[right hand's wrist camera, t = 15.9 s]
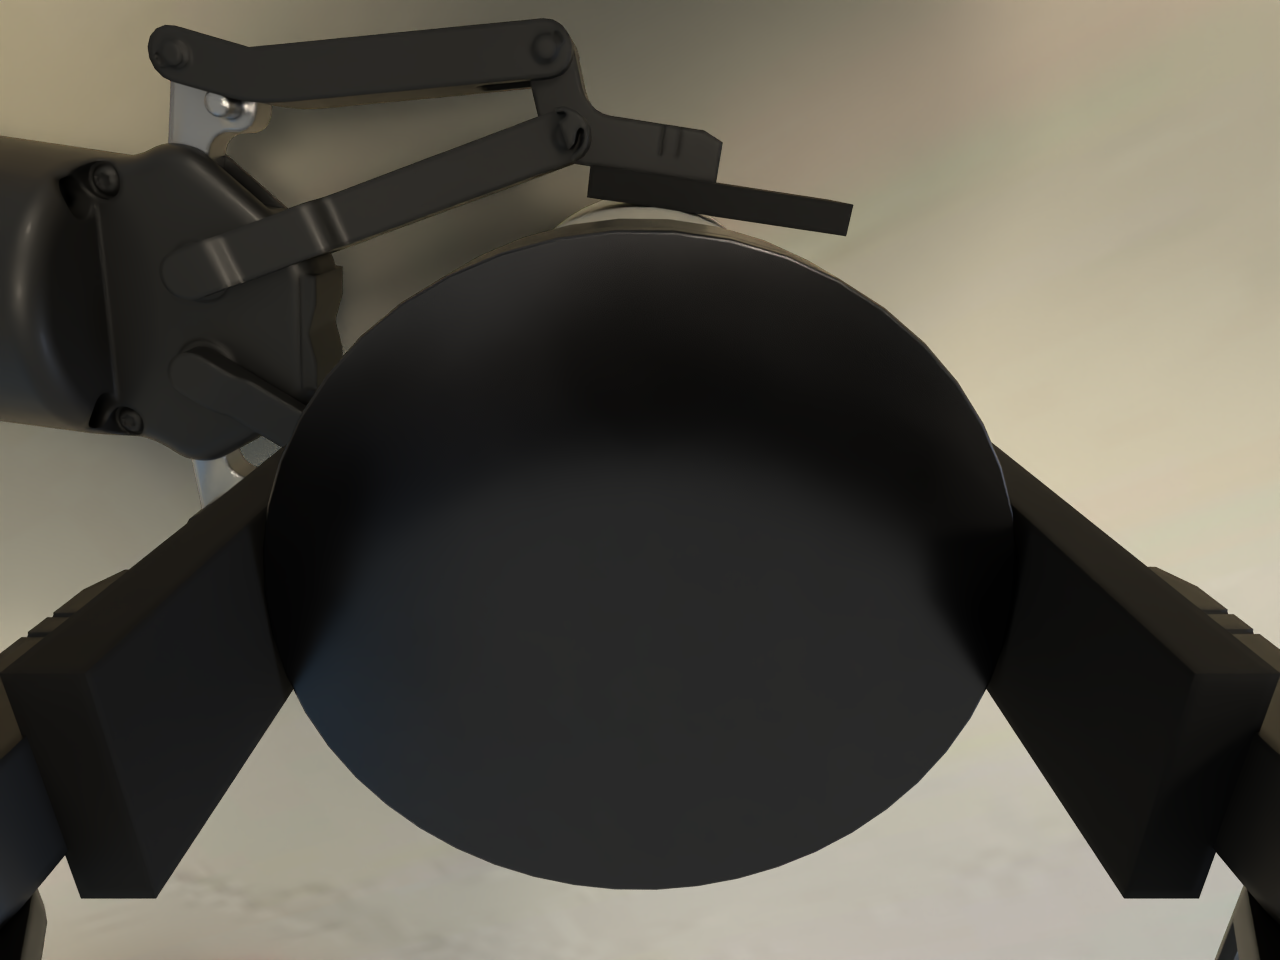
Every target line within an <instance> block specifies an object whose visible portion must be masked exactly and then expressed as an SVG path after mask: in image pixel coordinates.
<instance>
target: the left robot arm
mask: <svg viewBox="0 0 1280 960" xmlns="http://www.w3.org/2000/svg"><path fill="white" fill-rule="evenodd" d="M148 52H149V58H150V60H151V62H152V64H153V66H154V68H155V69H156V70H157V71H158V72H159V73H160V74H161V75H162V76H163V77H164V78H166V79H168V80H170V81H171V92H170V116H169V139H168V144H162V145H159V146H156V147H154V148H152V149H150V150H148V151H146V152H144V153H140V154H137V155H127V154H120V153H114V152H107V151H100V150H93V149H87V148H80V147H73V146H66V145H60V144H53V143H46V142H39V141H33V140H26V139H19V138H12V137H5V136H0V421H4V422H12V423H19V424H27V425H34V426H42V427H49V428H57V429H65V430H72V431H80V432H87V433H96V434H109V435H131V436H142V437H146V438H149V439H152V440H155V441H157V442H159V443H162V444H163V445H165V446H167V447H169V448H170V449H172V450H173V451H175V452H177V453H178V454H180V455H182V456H184V457H187V458H190V459H192V463H193V468H194V473H195V478H196V482H197V487H198V492H199V497H200V502H201V510H200V511H199V512H198V513H196V514H195V515H194V516H193V517H191V518H190V519H189V521H191V520H192V519H193V518H194V517H196V516H197V515H198V514H199V513H201V512H202V511H203V510H204V509H206V508H207V507H208V506H209V505H211V504H212V503H213V502H214V501H216V500H217V499H218V498H219V497H221V496H222V495H223V494H224V493H226V492H227V491H228V490H229V489H231V488H232V487H233V486H234V485H236V484H237V483H238V482H239V481H241V480H242V479H243V478H245V477H246V476H247V475H248V474H250V473H251V472H252V471H253V470H255V469H256V468H257V467H256V466H254V465H252V464H250V463H249V462H248V461H247V460H246V459H245V458H244V456H243V455H242V453H241V450H240V448H241V447H243V446H244V445H246V444H248V443H250V442H252V441H253V440H255V439H257V438H259V437H261V436H264V437H265V438H267V439H269V440H270V441H272V442H274V443H276V444H277V445H279V446H281V447H283V446H285V445H286V444H287V443H288V441H289V438H290V436H291V434H292V432H293V429H294V427H295V425H296V423H297V421H298V418H299V416H300V415H301V413H302V411H303V410H304V408H305V407H306V405H307V404H308V402H309V401H310V399H311V398H312V396H313V395H314V393H315V392H316V390H317V388H318V387H319V385H320V384H321V382H322V381H323V379H324V378H325V376H326V375H327V374H328V372H329V371H330V370H331V369H332V368H333V367H334V366H335V365H336V363H337V362H338V361H339V360H340V359H341V358H342V344H341V340H340V336H339V333H338V329H337V325H336V315H337V312H338V308H339V304H340V301H341V297H342V294H343V267H342V266H335V263H334V259H333V257H332V255H331V253H334V252H337V251H340V250H342V249H345V248H348V247H350V246H353V245H356V244H359V243H361V242H364V241H367V240H369V239H372V238H374V237H377V236H379V235H382V234H385V233H387V232H390V231H393V230H396V229H398V228H401V227H404V226H406V225H409V224H412V223H415V222H417V221H420V220H423V219H425V218H428V217H431V216H434V215H436V214H439V213H442V212H445V211H447V210H450V209H453V208H455V207H458V206H461V205H464V204H466V203H469V202H472V201H475V200H477V199H480V198H483V197H485V196H488V195H491V194H494V193H496V192H499V191H502V190H505V189H507V188H510V187H513V186H515V185H518V184H521V183H524V182H526V181H529V180H532V179H534V178H537V177H540V176H543V175H545V174H548V173H551V172H554V171H556V170H559V169H562V168H564V167H567V166H570V165H573V164H580V165H586V166H591V167H590V176H589V185H588V194H587V197H589V198H595V199H602V200H609V201H615V202H622V203H629V204H635V205H642V206H648V207H655V208H662V209H668V210H675V211H682V212H688V213H695V214H702V215H708V216H715V217H722V218H728V219H735V220H742V221H748V222H755V223H762V224H768V225H775V226H782V227H788V228H795V229H802V230H808V231H815V232H821V233H828V234H835V235H841V236H846V235H847V230H848V226H849V222H850V217H851V213H852V208H853V205H852V204H847V203H842V202H838V201H833V200H827V199H821V198H814V197H808V196H801V195H794V194H788V193H781V192H775V191H768V190H762V189H755V188H749V187H742V186H735V185H729V184H722V183H716V179H717V173H718V167H719V161H720V155H721V149H722V143H723V142H721V141H720V140H718V139H716V138H715V137H713V136H712V135H710V134H709V133H707V132H706V131H704V130H697V129H691V128H685V127H678V126H672V125H665V124H659V123H653V122H646V121H640V120H633V119H627V118H620V117H614V116H609V115H606V114H602V113H601V112H599V111H597V110H596V109H595V108H594V107H593V106H592V105H591V103H590V102H589V100H588V97H587V94H586V90H585V85H584V81H583V76H582V71H581V67H580V62H579V55H578V51H577V48H576V46H575V44H574V43H573V41H572V39H571V37H570V36H569V34H568V33H567V31H566V30H565V28H564V27H563V26H562V25H561V24H559V23H558V22H556V21H554V20H552V19H544V18H541V19H531V20H521V21H510V22H500V23H490V24H480V25H470V26H460V27H449V28H439V29H429V30H419V31H409V32H398V33H388V34H378V35H368V36H358V37H348V38H337V39H327V40H317V41H307V42H297V43H287V44H276V45H266V46H256V47H247V46H243V45H240V44H237V43H233V42H230V41H226V40H223V39H219V38H216V37H213V36H209V35H206V34H202V33H199V32H195V31H192V30H188V29H185V28H182V27H178V26H173V25H164V26H161V27H159V28H157V29H156V30H155V31H154V32H153V33H152V35H151V36H150V39H149V43H148ZM522 89H532V92H533V96H534V101H535V105H536V109H537V113H538V117H536V118H533V119H531V120H528V121H525V122H523V123H520V124H517V125H515V126H512V127H509V128H507V129H504V130H501V131H499V132H496V133H494V134H491V135H488V136H486V137H483V138H480V139H478V140H475V141H472V142H470V143H467V144H464V145H462V146H459V147H456V148H454V149H451V150H448V151H446V152H443V153H440V154H438V155H435V156H432V157H430V158H427V159H425V160H422V161H419V162H417V163H414V164H411V165H409V166H406V167H403V168H401V169H398V170H395V171H393V172H390V173H387V174H385V175H382V176H379V177H377V178H374V179H371V180H369V181H366V182H363V183H361V184H358V185H356V186H353V187H350V188H348V189H345V190H342V191H340V192H337V193H334V194H332V195H329V196H326V197H323V198H320V199H316V200H313V201H309V202H306V203H303V204H300V205H297V206H294V207H292V208H289V209H288V208H287V207H286V206H284V205H283V204H282V203H281V202H280V201H279V200H278V199H276V198H275V197H274V196H273V195H272V194H271V193H270V192H268V191H267V190H266V189H265V188H264V187H263V186H262V185H261V184H259V183H258V182H257V181H256V180H255V179H254V178H253V177H251V176H250V175H249V174H248V173H247V172H246V171H245V170H243V169H242V168H241V167H240V166H239V165H238V164H237V163H236V162H234V161H233V160H232V159H231V158H230V157H228V156H227V155H226V149H227V145H228V143H229V142H230V140H231V139H232V138H233V137H234V136H236V135H238V134H241V133H257V132H260V131H262V130H263V129H265V128H266V127H267V125H268V124H269V122H270V119H271V115H272V105H274V106H280V107H287V108H297V109H323V108H333V107H344V106H354V105H364V104H375V103H385V102H396V101H406V100H417V99H427V98H438V97H448V96H459V95H469V94H480V93H490V92H501V91H511V90H522ZM189 521H188V522H189Z"/></svg>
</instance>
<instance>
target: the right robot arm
mask: <svg viewBox="0 0 1280 960" xmlns="http://www.w3.org/2000/svg"><path fill="white" fill-rule="evenodd" d="M991 443H992V442H991ZM286 445H287V444H286ZM286 445H285V446H283V447H282V448H281V449H280V450H278V451H277V452H276V453H275V454H273V455H272V456H271V457H270V458H268V459H267V460H266V461H265V462H263V463H262V464H261V465H260V466H258V467H257V468H256V469H255V470H253V471H252V472H251V473H250V474H248V475H247V476H246V477H245V478H243V479H242V480H241V481H239V482H238V483H237V484H236V485H234V486H233V487H232V488H231V489H229V490H228V491H227V492H226V493H224V494H223V495H222V496H221V497H219V498H218V499H217V500H216V501H214V502H213V503H212V504H211V505H209V506H208V507H207V508H206V509H204V510H203V511H202V512H201V513H199V514H198V515H197V516H196V517H194V518H193V519H192V520H191V521H189V522H188V523H187V524H186V525H184V526H183V527H182V528H181V529H179V530H178V531H177V532H176V533H174V534H173V535H172V536H171V537H169V538H168V539H167V540H166V541H164V542H163V543H162V544H161V545H159V546H158V547H157V548H156V549H154V550H153V551H152V552H151V553H149V554H148V555H147V556H146V557H144V558H143V559H142V560H141V561H139V562H138V563H137V564H136V565H134V566H133V567H132V568H131V569H129V570H123V571H121V572H119V573H117V574H115V575H113V576H111V577H109V578H107V579H104V580H102V581H100V582H98V583H96V584H94V585H92V586H90V587H88V588H86V589H84V590H82V591H81V592H80V593H78V594H77V595H76V596H74V597H73V598H72V599H70V600H69V601H68V602H67V603H65V604H64V605H63V606H61V607H60V608H59V609H57V610H56V611H55V612H54V613H53V614H54V615H53V617H47V618H46V619H44V620H43V621H42V622H41V623H39V624H38V625H37V626H35V627H34V628H33V629H31V630H30V631H29V632H28V637H21V638H20V639H18V640H17V641H16V642H15V643H13V644H12V645H11V646H9V647H8V648H7V649H5V650H4V651H3V652H2V653H0V960H41V959H42V953H43V946H44V939H45V933H46V926H47V918H46V913H45V907H44V904H43V901H42V899H41V896H40V893H39V891H38V887H39V886H40V885H41V884H42V882H43V881H44V880H45V879H46V878H47V876H48V875H49V874H50V873H51V872H52V870H53V869H54V868H55V867H56V865H57V864H58V863H59V862H60V861H61V859H62V858H63V857H64V856H66V859H67V861H68V864H69V867H70V870H71V872H72V875H73V878H74V880H75V883H76V886H77V889H78V891H79V894H80V897H81V898H156V897H157V896H158V894H159V893H160V891H161V890H162V888H163V887H164V885H165V884H166V882H167V881H168V879H169V878H170V876H171V875H172V873H173V872H174V870H175V869H176V867H177V866H178V864H179V862H180V861H181V859H182V858H183V856H184V855H185V853H186V852H187V850H188V849H189V847H190V846H191V844H192V843H193V841H194V840H195V838H196V837H197V835H198V834H199V832H200V831H201V829H202V827H203V826H204V824H205V823H206V821H207V820H208V818H209V817H210V815H211V814H212V812H213V811H214V809H215V808H216V806H217V805H218V803H219V802H220V800H221V799H222V797H223V796H224V794H225V792H226V791H227V789H228V788H229V786H230V785H231V783H232V782H233V780H234V779H235V777H236V776H237V774H238V773H239V771H240V770H241V768H242V767H243V765H244V764H245V762H246V761H247V759H248V757H249V756H250V754H251V753H252V751H253V750H254V748H255V747H256V745H257V744H258V742H259V741H260V739H261V738H262V736H263V735H264V733H265V732H266V730H267V729H268V727H269V726H270V724H271V722H272V721H273V719H274V718H275V716H276V715H277V713H278V712H279V710H280V709H281V707H282V706H283V704H284V703H285V701H286V700H287V698H288V697H289V695H290V694H291V692H292V690H293V687H292V685H291V683H290V681H289V679H288V677H287V675H286V673H285V670H284V667H283V664H282V661H281V658H280V655H279V653H278V650H277V647H276V644H275V641H274V638H273V635H272V630H271V625H270V619H269V614H268V609H267V604H266V598H265V593H264V569H263V542H264V533H265V524H266V515H267V507H268V501H269V498H270V494H271V490H272V487H273V483H274V479H275V476H276V472H277V468H278V465H279V461H280V458H281V456H282V454H283V452H284V449H285V447H286ZM992 445H993V448H994V450H995V453H996V455H997V457H998V460H999V462H1000V465H1001V467H1002V471H1003V475H1004V479H1005V483H1006V487H1007V491H1008V495H1009V499H1010V503H1011V507H1012V511H1013V522H1014V534H1015V545H1016V572H1015V588H1014V601H1013V606H1012V611H1011V615H1010V620H1009V624H1008V629H1007V634H1006V638H1005V643H1004V645H1003V648H1002V651H1001V653H1000V656H999V659H998V661H997V664H996V667H995V670H994V672H993V675H992V678H991V680H990V683H989V685H988V686H987V688H986V689H987V691H988V692H989V694H990V695H991V697H992V698H993V700H994V701H995V703H996V704H997V706H998V707H999V709H1000V710H1001V712H1002V713H1003V715H1004V716H1005V718H1006V719H1007V721H1008V722H1009V724H1010V726H1011V727H1012V729H1013V730H1014V732H1015V733H1016V735H1017V736H1018V738H1019V739H1020V741H1021V742H1022V744H1023V745H1024V747H1025V748H1026V750H1027V751H1028V753H1029V754H1030V756H1031V757H1032V759H1033V761H1034V762H1035V764H1036V765H1037V767H1038V768H1039V770H1040V771H1041V773H1042V774H1043V776H1044V777H1045V779H1046V780H1047V782H1048V783H1049V785H1050V786H1051V788H1052V789H1053V791H1054V792H1055V794H1056V796H1057V797H1058V799H1059V800H1060V802H1061V803H1062V805H1063V806H1064V808H1065V809H1066V811H1067V812H1068V814H1069V815H1070V817H1071V818H1072V820H1073V821H1074V823H1075V824H1076V826H1077V827H1078V829H1079V831H1080V832H1081V834H1082V835H1083V837H1084V838H1085V840H1086V841H1087V843H1088V844H1089V846H1090V847H1091V849H1092V850H1093V852H1094V853H1095V855H1096V856H1097V858H1098V859H1099V861H1100V862H1101V864H1102V866H1103V867H1104V869H1105V870H1106V872H1107V873H1108V875H1109V876H1110V878H1111V879H1112V881H1113V882H1114V884H1115V885H1116V887H1117V888H1118V890H1119V891H1120V893H1121V894H1122V896H1123V897H1124V898H1199V897H1200V894H1201V891H1202V889H1203V886H1204V883H1205V880H1206V878H1207V875H1208V872H1209V869H1210V867H1211V864H1212V861H1213V858H1214V856H1215V853H1217V854H1218V855H1219V856H1220V857H1221V859H1222V860H1223V861H1224V862H1225V863H1226V865H1227V866H1228V867H1229V868H1230V869H1231V871H1232V872H1233V873H1234V874H1235V875H1236V877H1237V878H1238V879H1239V880H1240V881H1241V883H1242V884H1243V885H1244V886H1243V888H1242V891H1241V893H1240V896H1239V899H1238V901H1237V904H1236V906H1235V909H1234V911H1233V914H1232V917H1231V919H1230V922H1229V924H1228V927H1227V929H1226V932H1225V934H1224V937H1223V940H1222V942H1221V945H1220V947H1219V950H1218V952H1217V955H1216V958H1215V960H1280V649H1279V648H1277V647H1276V646H1275V645H1273V644H1272V643H1271V642H1269V641H1268V640H1267V639H1265V638H1264V637H1263V636H1261V635H1260V634H1254V633H1253V629H1252V628H1251V627H1250V626H1248V625H1247V624H1246V623H1244V622H1243V621H1242V620H1240V619H1239V618H1238V617H1237V616H1235V615H1234V614H1228V612H1227V611H1228V610H1227V609H1226V608H1225V607H1223V606H1222V605H1221V604H1219V603H1218V602H1217V601H1216V600H1214V599H1213V598H1212V597H1210V596H1209V595H1208V594H1206V593H1205V592H1204V591H1202V590H1201V589H1200V588H1199V587H1197V586H1195V585H1193V584H1191V583H1189V582H1187V581H1184V580H1182V579H1180V578H1178V577H1176V576H1174V575H1172V574H1170V573H1168V572H1165V571H1163V570H1161V569H1159V568H1157V567H1147V566H1146V565H1144V564H1143V563H1142V562H1141V561H1139V560H1138V559H1137V558H1136V557H1134V556H1133V555H1132V554H1131V553H1129V552H1128V551H1127V550H1126V549H1124V548H1123V547H1122V546H1121V545H1119V544H1118V543H1117V542H1116V541H1114V540H1113V539H1112V538H1111V537H1109V536H1108V535H1107V534H1106V533H1104V532H1103V531H1102V530H1101V529H1099V528H1098V527H1097V526H1096V525H1094V524H1093V523H1092V522H1091V521H1089V520H1088V519H1087V518H1086V517H1084V516H1083V515H1082V514H1081V513H1079V512H1078V511H1077V510H1076V509H1074V508H1073V507H1072V506H1071V505H1069V504H1068V503H1067V502H1066V501H1064V500H1063V499H1062V498H1061V497H1059V496H1058V495H1057V494H1056V493H1054V492H1053V491H1052V490H1051V489H1049V488H1048V487H1047V486H1046V485H1044V484H1043V483H1042V482H1040V481H1039V480H1038V479H1037V478H1035V477H1034V476H1033V475H1032V474H1030V473H1029V472H1028V471H1027V470H1025V469H1024V468H1023V467H1022V466H1020V465H1019V464H1018V463H1017V462H1015V461H1014V460H1013V459H1012V458H1010V457H1009V456H1008V455H1007V454H1005V453H1004V452H1003V451H1002V450H1000V449H999V448H998V447H997V446H995V445H994V444H993V443H992Z"/></svg>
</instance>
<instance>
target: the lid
mask: <svg viewBox="0 0 1280 960" xmlns="http://www.w3.org/2000/svg"><path fill="white" fill-rule="evenodd" d="M263 569H264V593H265V598H266V604H267V609H268V614H269V619H270V625H271V630H272V635H273V638H274V641H275V644H276V647H277V650H278V653H279V655H280V658H281V661H282V664H283V667H284V670H285V673H286V675H287V677H288V679H289V681H290V683H291V685H292V687H293V689H294V691H295V693H296V695H297V697H298V699H299V701H300V703H301V705H302V707H303V709H304V711H305V713H306V714H307V716H308V717H309V719H310V720H311V721H312V723H313V724H314V726H315V727H316V729H317V730H318V732H319V733H320V735H321V736H322V738H323V739H324V740H325V742H326V743H327V745H328V746H329V747H330V749H331V750H332V751H333V752H334V753H335V754H336V755H337V756H338V758H339V759H340V760H341V761H342V762H343V763H344V764H345V765H346V767H347V768H348V769H349V770H350V771H351V772H352V773H353V775H354V776H355V777H356V778H357V779H358V780H360V781H361V782H362V783H363V784H364V785H365V786H366V787H367V788H369V789H370V790H371V791H372V792H373V793H374V794H375V795H376V796H378V797H379V798H380V799H381V800H382V801H383V802H384V803H385V804H387V805H388V806H389V807H391V808H392V809H394V810H395V811H396V812H398V813H399V814H401V815H402V816H404V817H405V818H406V819H408V820H409V821H411V822H412V823H413V824H415V825H416V826H418V827H419V828H421V829H422V830H424V831H426V832H428V833H430V834H431V835H433V836H435V837H437V838H439V839H440V840H442V841H444V842H446V843H448V844H449V845H451V846H453V847H455V848H457V849H459V850H461V851H464V852H466V853H469V854H471V855H473V856H476V857H478V858H480V859H483V860H485V861H487V862H490V863H492V864H494V865H498V866H501V867H504V868H507V869H511V870H514V871H517V872H520V873H524V874H527V875H530V876H533V877H538V878H543V879H548V880H552V881H557V882H562V883H567V884H572V885H579V886H589V887H598V888H608V889H639V890H658V889H670V888H681V887H693V886H701V885H706V884H711V883H717V882H722V881H728V880H733V879H738V878H742V877H745V876H749V875H752V874H756V873H759V872H762V871H766V870H769V869H773V868H776V867H779V866H782V865H784V864H787V863H789V862H792V861H794V860H797V859H799V858H802V857H804V856H806V855H809V854H811V853H814V852H816V851H818V850H820V849H822V848H824V847H826V846H828V845H830V844H831V843H833V842H835V841H837V840H839V839H841V838H843V837H845V836H847V835H848V834H850V833H852V832H854V831H855V830H857V829H858V828H860V827H861V826H863V825H864V824H866V823H867V822H869V821H870V820H872V819H873V818H875V817H876V816H877V815H879V814H880V813H882V812H883V811H885V810H886V809H888V808H889V807H890V806H891V805H892V804H893V803H895V802H896V801H897V800H898V799H899V798H900V797H902V796H903V795H904V794H905V793H906V792H907V791H909V790H910V789H911V788H912V787H913V786H915V785H916V784H917V783H918V782H919V781H920V780H921V779H922V778H923V777H924V776H925V774H926V773H927V772H928V771H929V770H930V769H931V768H932V767H933V766H934V765H935V764H936V763H937V761H938V760H939V759H940V758H941V757H942V756H943V755H944V754H945V753H946V752H947V750H948V749H949V747H950V746H951V745H952V743H953V742H954V740H955V739H956V738H957V736H958V735H959V733H960V732H961V731H962V729H963V728H964V727H965V725H966V724H967V722H968V721H969V720H970V718H971V716H972V714H973V712H974V711H975V709H976V707H977V705H978V703H979V701H980V699H981V698H982V696H983V694H984V692H985V690H986V688H987V686H988V685H989V683H990V680H991V678H992V675H993V672H994V670H995V667H996V664H997V661H998V659H999V656H1000V653H1001V651H1002V648H1003V645H1004V643H1005V638H1006V634H1007V629H1008V624H1009V620H1010V615H1011V611H1012V606H1013V601H1014V588H1015V572H1016V545H1015V534H1014V522H1013V511H1012V507H1011V503H1010V499H1009V495H1008V491H1007V487H1006V483H1005V479H1004V475H1003V471H1002V467H1001V465H1000V462H999V460H998V457H997V455H996V453H995V450H994V448H993V445H992V443H991V441H990V438H989V436H988V433H987V431H986V429H985V426H984V424H983V422H982V421H981V419H980V417H979V416H978V414H977V412H976V411H975V409H974V408H973V406H972V404H971V403H970V401H969V399H968V398H967V396H966V395H965V393H964V391H963V390H962V388H961V386H960V385H959V383H958V382H957V380H956V379H955V378H954V377H953V376H952V375H951V373H950V372H949V371H948V370H947V369H946V367H945V366H944V365H943V364H942V363H941V362H940V360H939V359H938V358H937V357H936V356H935V354H934V353H933V352H932V351H931V350H930V349H929V347H928V346H927V345H926V344H925V343H924V342H923V341H922V340H921V339H920V338H918V337H917V336H916V335H915V334H914V333H913V332H912V331H910V330H909V329H908V328H907V327H906V326H905V325H904V324H902V323H901V322H900V321H899V320H898V319H897V318H896V317H894V316H893V315H892V314H891V313H890V312H889V311H888V310H886V309H885V308H884V307H882V306H881V305H879V304H878V303H876V302H875V301H873V300H871V299H870V298H868V297H867V296H865V295H864V294H862V293H861V292H859V291H857V290H856V289H854V288H853V287H851V286H850V285H848V284H847V283H845V282H843V281H842V280H840V279H839V278H837V277H835V276H834V275H832V274H830V273H829V272H827V271H825V270H823V269H822V268H820V267H818V266H817V265H815V264H813V263H812V262H810V261H808V260H806V259H804V258H802V257H800V256H797V255H795V254H793V253H791V252H789V251H786V250H784V249H782V248H780V247H778V246H775V245H773V244H771V243H769V242H767V241H765V240H761V239H758V238H755V237H751V236H748V235H744V234H741V233H738V232H734V231H731V230H728V229H724V228H721V227H718V226H711V225H704V224H698V223H691V222H684V221H678V220H671V219H611V220H603V221H595V222H587V223H580V224H572V225H567V226H563V227H560V228H556V229H552V230H549V231H545V232H541V233H538V234H534V235H530V236H526V237H523V238H520V239H518V240H516V241H513V242H511V243H509V244H506V245H504V246H502V247H499V248H497V249H495V250H492V251H490V252H488V253H485V254H483V255H481V256H478V257H477V258H475V259H473V260H472V261H470V262H468V263H466V264H465V265H463V266H461V267H460V268H458V269H456V270H455V271H453V272H451V273H449V274H448V275H446V276H444V277H443V278H441V279H439V280H438V281H436V282H435V283H433V284H431V285H430V286H428V287H426V288H425V289H423V290H421V291H420V292H418V293H416V294H415V295H413V296H411V297H410V298H408V299H407V300H405V301H403V302H402V303H400V304H399V305H398V306H397V307H396V308H394V309H393V310H392V311H391V312H390V313H388V314H387V315H386V316H385V317H384V318H382V319H381V320H380V321H379V322H377V323H376V324H375V325H374V326H373V327H371V328H370V329H369V330H368V331H367V332H365V333H364V334H363V335H362V336H361V337H360V338H359V339H358V340H357V341H356V342H355V343H354V344H353V346H352V347H351V348H350V349H349V350H348V351H347V352H346V353H345V355H344V356H343V357H342V358H341V359H340V360H339V361H338V362H337V363H336V365H335V366H334V367H333V368H332V369H331V370H330V371H329V372H328V374H327V375H326V376H325V378H324V379H323V381H322V382H321V384H320V385H319V387H318V388H317V390H316V392H315V393H314V395H313V396H312V398H311V399H310V401H309V402H308V404H307V405H306V407H305V408H304V410H303V411H302V413H301V415H300V416H299V418H298V421H297V423H296V425H295V427H294V429H293V432H292V434H291V436H290V438H289V441H288V443H287V445H286V447H285V449H284V452H283V454H282V456H281V458H280V461H279V465H278V468H277V472H276V476H275V479H274V483H273V487H272V490H271V494H270V498H269V501H268V507H267V515H266V524H265V533H264V542H263Z"/></svg>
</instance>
